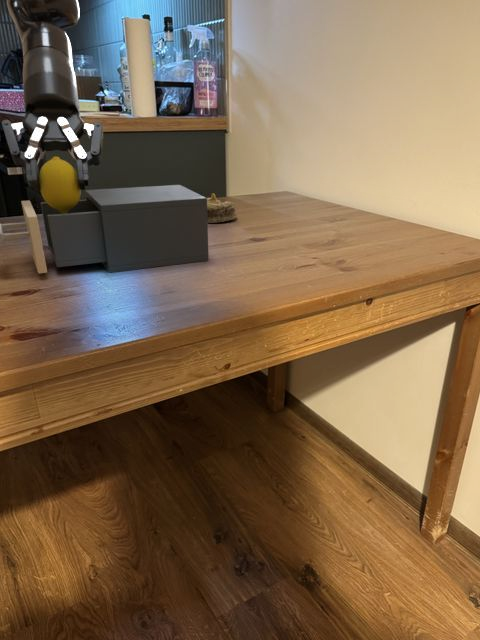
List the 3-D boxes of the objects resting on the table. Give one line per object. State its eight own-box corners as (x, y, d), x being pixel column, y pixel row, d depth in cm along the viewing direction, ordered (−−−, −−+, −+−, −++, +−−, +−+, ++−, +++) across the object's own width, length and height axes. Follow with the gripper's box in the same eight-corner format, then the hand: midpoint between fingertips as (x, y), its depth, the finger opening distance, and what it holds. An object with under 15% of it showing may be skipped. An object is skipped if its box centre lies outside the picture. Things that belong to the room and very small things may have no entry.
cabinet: (108, 273, 74) (100, 205, 69) (92, 250, 84) (84, 190, 79) (208, 260, 80) (207, 198, 76) (182, 240, 90) (179, 184, 86)
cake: (214, 229, 101) (211, 202, 98) (181, 221, 106) (178, 195, 104) (247, 217, 107) (245, 191, 104) (214, 210, 113) (212, 186, 110)
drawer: (1, 278, 68) (-13, 219, 64) (-2, 255, 77) (-14, 203, 73) (141, 261, 76) (136, 208, 72) (123, 242, 85) (118, 194, 81)
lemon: (72, 219, 71) (63, 159, 67) (36, 216, 71) (26, 157, 68) (91, 211, 76) (83, 155, 72) (57, 208, 76) (48, 153, 73)
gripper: (-9, 67, 69) (-4, 170, 65) (99, 71, 73) (111, 169, 69) (4, 107, 76) (10, 203, 72) (102, 110, 80) (113, 201, 75)
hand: (59, 186), depth 70 cm, fingers closed on lemon, 5 cm apart
